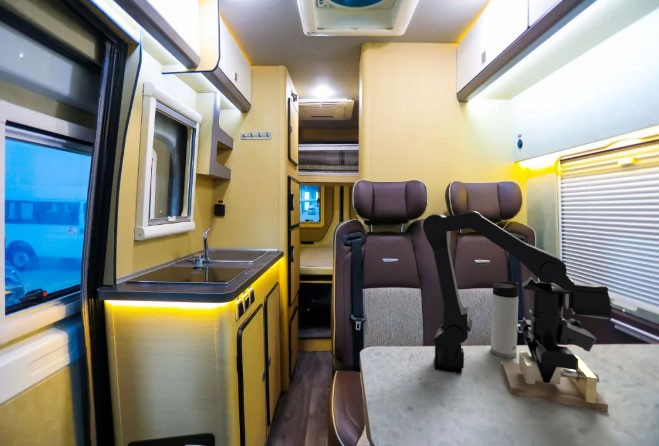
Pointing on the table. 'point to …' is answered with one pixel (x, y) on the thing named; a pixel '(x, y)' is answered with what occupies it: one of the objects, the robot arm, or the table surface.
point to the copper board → (548, 389)
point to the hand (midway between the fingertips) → (543, 378)
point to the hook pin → (533, 373)
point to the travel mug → (504, 319)
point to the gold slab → (585, 382)
